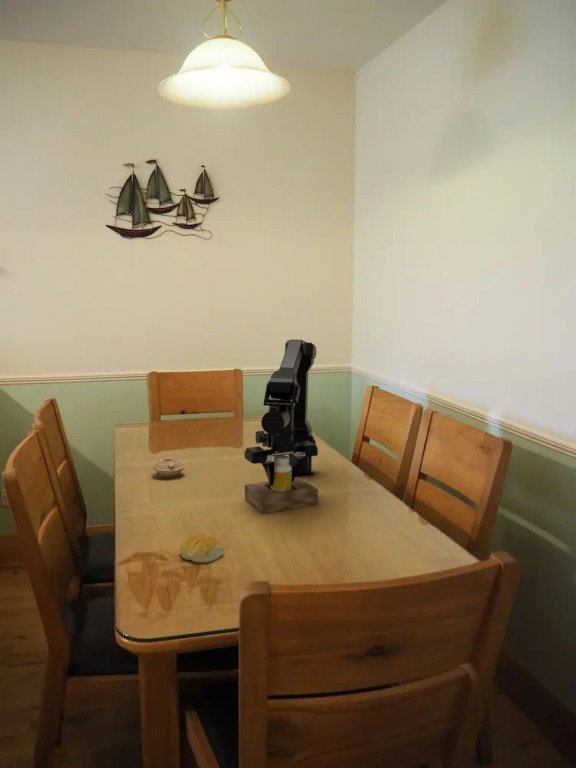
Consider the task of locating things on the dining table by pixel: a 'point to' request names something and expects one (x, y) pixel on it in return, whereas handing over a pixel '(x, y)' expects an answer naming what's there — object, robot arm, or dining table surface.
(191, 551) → the bread roll
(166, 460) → the pottery oil lamp
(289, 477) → the supplement bottle
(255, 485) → the walnut holder
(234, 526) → the dining table surface
